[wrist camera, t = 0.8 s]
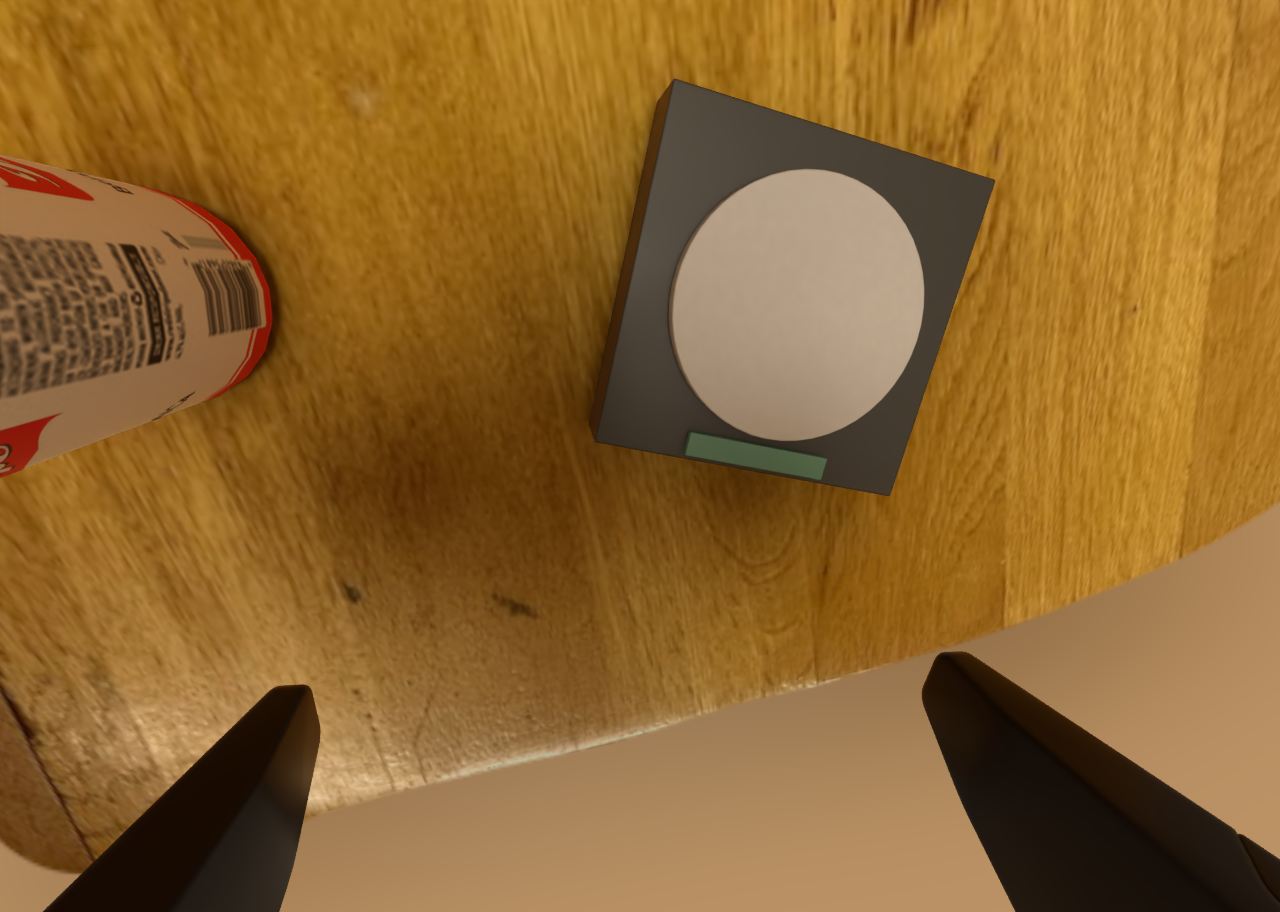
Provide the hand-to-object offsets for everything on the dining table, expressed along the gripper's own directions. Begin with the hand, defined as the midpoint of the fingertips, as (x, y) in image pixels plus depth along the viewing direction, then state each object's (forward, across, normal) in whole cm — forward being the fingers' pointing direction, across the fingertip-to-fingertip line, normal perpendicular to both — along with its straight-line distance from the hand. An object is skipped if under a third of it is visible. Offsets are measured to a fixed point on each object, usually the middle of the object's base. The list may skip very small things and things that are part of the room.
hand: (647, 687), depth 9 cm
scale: (+16, -7, -1) cm, 17 cm away
